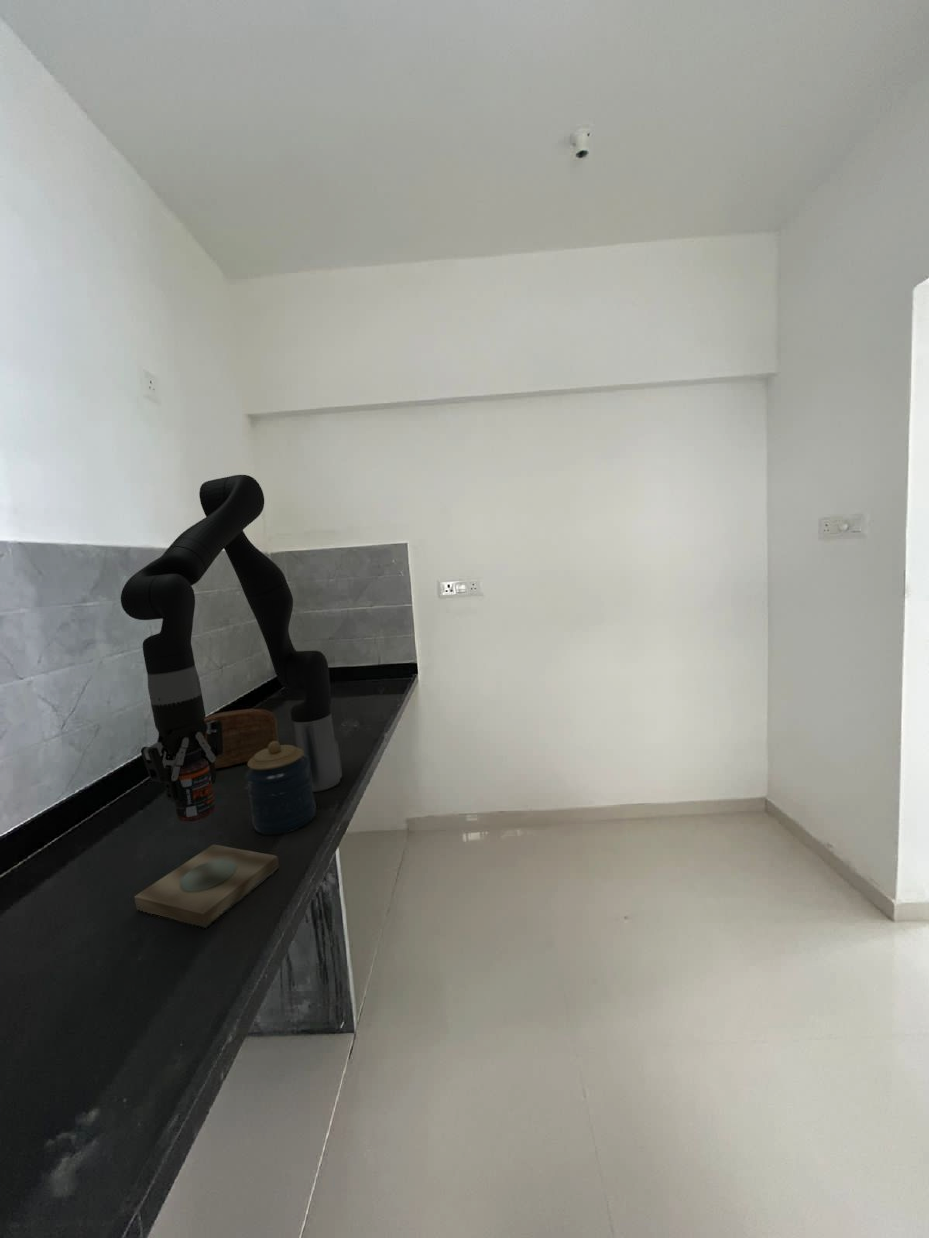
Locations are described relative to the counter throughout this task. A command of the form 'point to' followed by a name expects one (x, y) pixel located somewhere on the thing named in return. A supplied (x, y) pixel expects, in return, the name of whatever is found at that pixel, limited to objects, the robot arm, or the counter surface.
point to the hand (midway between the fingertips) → (193, 791)
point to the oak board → (206, 884)
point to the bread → (243, 734)
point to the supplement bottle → (195, 788)
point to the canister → (280, 789)
